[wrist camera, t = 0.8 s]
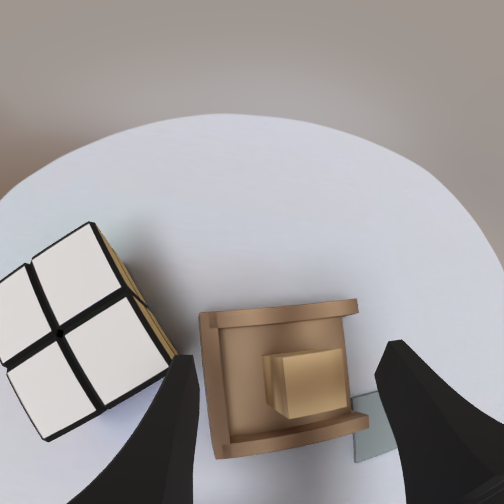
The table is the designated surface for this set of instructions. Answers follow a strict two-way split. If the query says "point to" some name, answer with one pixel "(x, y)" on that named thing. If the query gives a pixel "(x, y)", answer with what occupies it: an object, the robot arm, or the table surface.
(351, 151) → the table surface
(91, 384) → the puzzle cube
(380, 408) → the slate pad
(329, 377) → the oak block
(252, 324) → the tray
